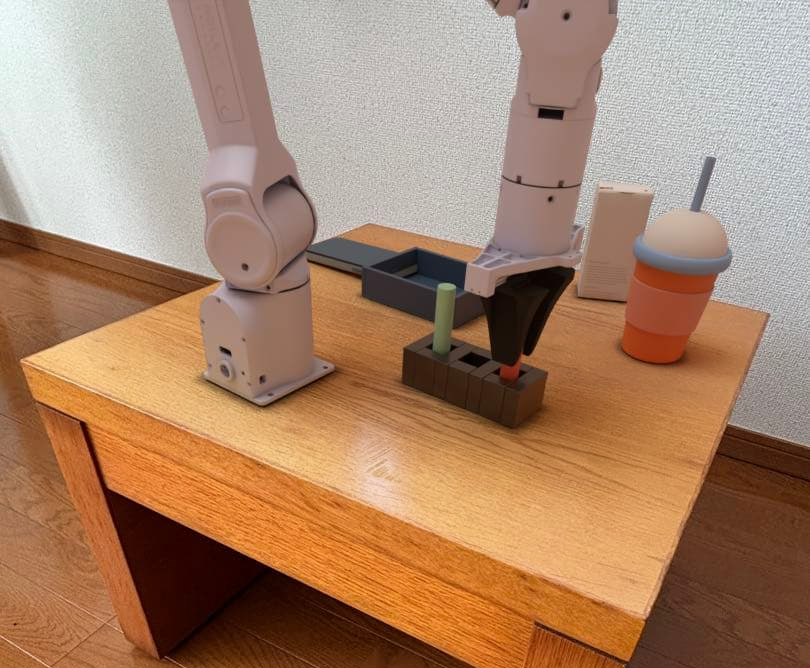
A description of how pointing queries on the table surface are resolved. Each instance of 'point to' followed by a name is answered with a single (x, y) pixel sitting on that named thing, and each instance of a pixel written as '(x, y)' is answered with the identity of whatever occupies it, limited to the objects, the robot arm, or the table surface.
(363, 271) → the bin
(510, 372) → the red rod
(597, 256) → the cosmetic box
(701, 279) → the cup with straw
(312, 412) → the table surface
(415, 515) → the table surface
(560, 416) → the table surface
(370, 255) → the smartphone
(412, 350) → the straw rack
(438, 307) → the green rod
